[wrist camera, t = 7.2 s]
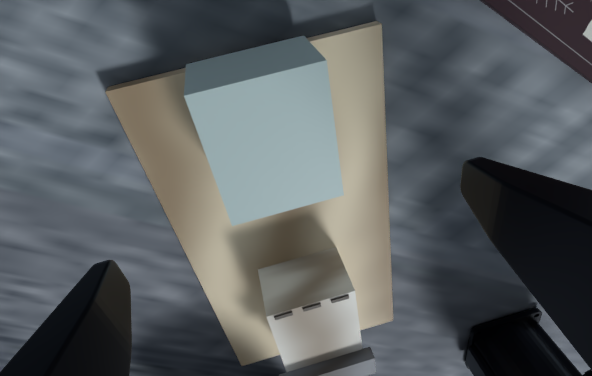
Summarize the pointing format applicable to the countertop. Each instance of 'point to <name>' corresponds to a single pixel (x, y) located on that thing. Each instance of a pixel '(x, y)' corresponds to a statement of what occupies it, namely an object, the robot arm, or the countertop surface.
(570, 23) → the chocolate bar
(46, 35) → the countertop surface
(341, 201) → the board
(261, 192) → the stub
